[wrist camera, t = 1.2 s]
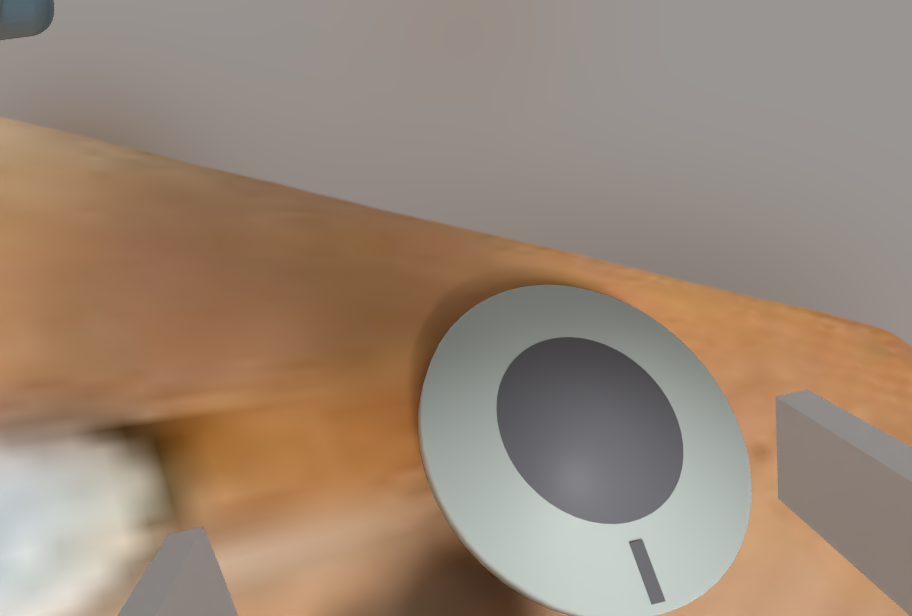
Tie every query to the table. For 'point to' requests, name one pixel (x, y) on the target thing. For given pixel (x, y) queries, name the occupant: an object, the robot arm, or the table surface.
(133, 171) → the table surface
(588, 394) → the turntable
